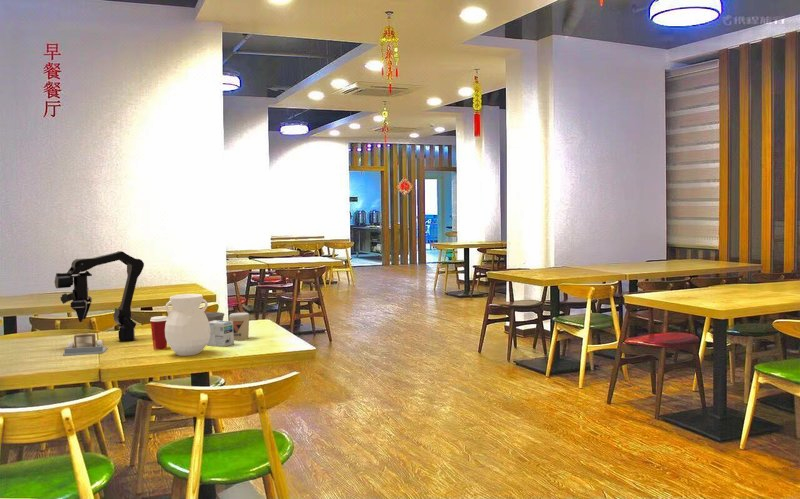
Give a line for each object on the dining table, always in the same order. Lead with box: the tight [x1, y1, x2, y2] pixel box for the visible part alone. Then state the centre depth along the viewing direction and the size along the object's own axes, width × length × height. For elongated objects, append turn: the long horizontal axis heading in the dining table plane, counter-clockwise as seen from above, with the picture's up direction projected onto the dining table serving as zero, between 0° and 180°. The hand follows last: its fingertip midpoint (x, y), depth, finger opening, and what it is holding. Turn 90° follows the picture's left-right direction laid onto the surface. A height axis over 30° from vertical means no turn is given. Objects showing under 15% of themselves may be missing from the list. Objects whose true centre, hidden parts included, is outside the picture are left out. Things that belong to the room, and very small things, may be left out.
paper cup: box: [149, 315, 168, 351], centre depth 303 cm, size 8×8×14 cm
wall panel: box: [62, 339, 108, 357], centre depth 298 cm, size 16×11×5 cm
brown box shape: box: [73, 333, 97, 348], centre depth 297 cm, size 8×3×7 cm, turn 105°
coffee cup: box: [228, 312, 250, 341], centre depth 322 cm, size 9×9×12 cm
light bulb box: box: [206, 320, 235, 348], centre depth 308 cm, size 11×7×11 cm, turn 65°
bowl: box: [204, 311, 225, 321], centre depth 338 cm, size 21×21×10 cm
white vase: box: [164, 293, 210, 357], centre depth 289 cm, size 19×18×25 cm
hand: (82, 320), depth 311 cm, fingers open, 9 cm apart
